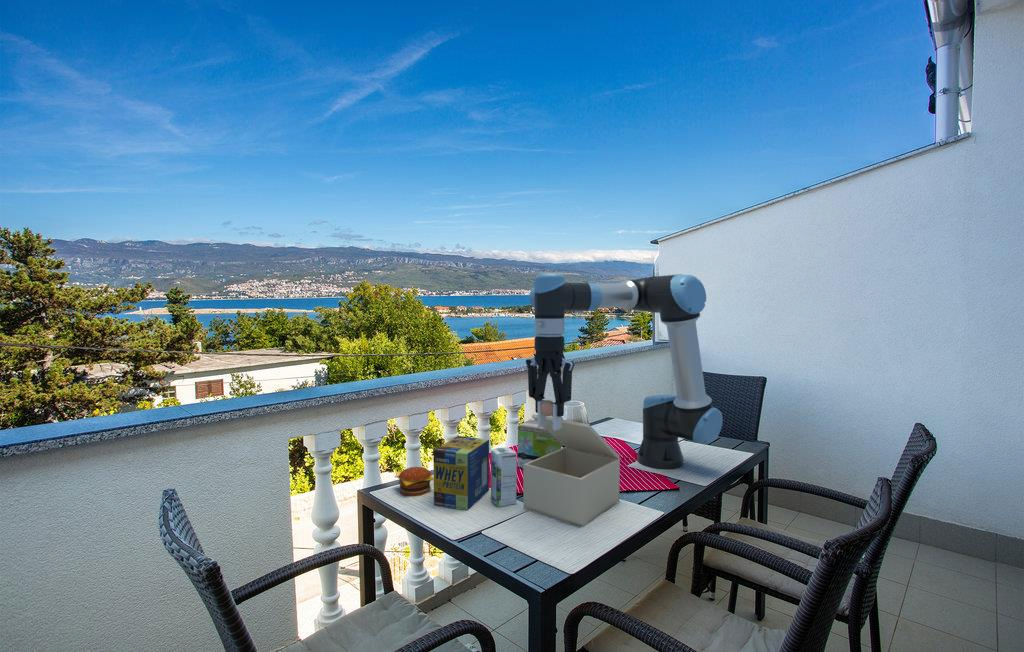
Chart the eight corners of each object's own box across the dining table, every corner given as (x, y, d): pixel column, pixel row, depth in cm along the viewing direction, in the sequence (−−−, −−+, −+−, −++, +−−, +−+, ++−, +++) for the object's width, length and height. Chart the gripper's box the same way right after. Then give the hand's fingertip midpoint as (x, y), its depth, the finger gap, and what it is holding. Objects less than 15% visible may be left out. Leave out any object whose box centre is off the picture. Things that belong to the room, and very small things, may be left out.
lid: (564, 451, 146) (568, 438, 147) (617, 463, 134) (621, 449, 136) (514, 407, 127) (519, 393, 128) (571, 416, 116) (577, 401, 117)
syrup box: (490, 499, 137) (489, 448, 137) (509, 496, 140) (509, 446, 139) (497, 507, 132) (497, 454, 131) (517, 503, 134) (517, 451, 134)
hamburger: (407, 499, 138) (406, 476, 138) (394, 489, 146) (393, 467, 146) (437, 491, 143) (436, 469, 143) (423, 482, 151) (422, 461, 151)
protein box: (433, 505, 134) (432, 449, 133) (458, 485, 148) (457, 435, 147) (467, 511, 130) (467, 453, 129) (490, 490, 144) (490, 438, 144)
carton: (564, 486, 147) (564, 447, 146) (619, 502, 135) (619, 459, 135) (523, 508, 131) (523, 464, 131) (581, 527, 120) (581, 479, 119)
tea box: (516, 468, 163) (516, 424, 162) (529, 460, 172) (529, 418, 171) (558, 475, 156) (558, 430, 155) (570, 466, 165) (570, 423, 164)
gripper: (513, 334, 125) (514, 425, 127) (570, 337, 115) (570, 436, 116) (531, 333, 131) (531, 419, 132) (586, 335, 120) (586, 429, 121)
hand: (549, 427), depth 124 cm, fingers closed on lid, 4 cm apart
